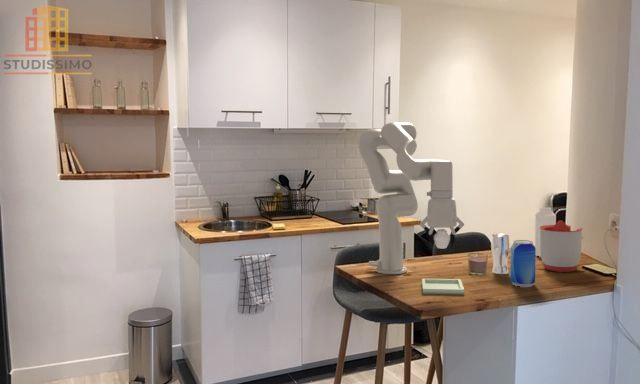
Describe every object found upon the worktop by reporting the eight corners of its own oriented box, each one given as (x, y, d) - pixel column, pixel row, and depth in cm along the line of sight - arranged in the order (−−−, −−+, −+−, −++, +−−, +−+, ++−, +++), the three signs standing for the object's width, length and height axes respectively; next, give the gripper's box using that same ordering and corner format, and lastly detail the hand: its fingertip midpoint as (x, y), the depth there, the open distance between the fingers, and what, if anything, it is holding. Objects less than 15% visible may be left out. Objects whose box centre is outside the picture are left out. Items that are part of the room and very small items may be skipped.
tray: (422, 293, 187) (422, 288, 187) (422, 283, 201) (422, 278, 201) (464, 294, 185) (464, 289, 185) (460, 283, 199) (460, 279, 198)
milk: (555, 257, 237) (556, 208, 235) (543, 258, 235) (544, 208, 233) (546, 254, 243) (546, 206, 240) (534, 255, 241) (535, 207, 239)
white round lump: (450, 249, 188) (450, 230, 187) (432, 249, 189) (432, 229, 189) (451, 246, 194) (450, 227, 193) (433, 245, 195) (433, 226, 195)
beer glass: (510, 274, 209) (510, 237, 208) (492, 274, 211) (492, 236, 209) (508, 270, 216) (508, 233, 215) (490, 270, 217) (490, 233, 216)
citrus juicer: (594, 271, 211) (595, 221, 209) (557, 275, 206) (558, 224, 204) (565, 263, 226) (566, 216, 224) (530, 266, 221) (531, 218, 219)
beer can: (529, 281, 199) (529, 239, 198) (539, 287, 191) (539, 243, 189) (506, 282, 199) (507, 239, 197) (515, 288, 191) (516, 244, 189)
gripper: (416, 196, 187) (417, 247, 189) (467, 196, 185) (467, 247, 186) (416, 194, 195) (417, 243, 196) (465, 193, 192) (465, 243, 194)
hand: (441, 244), depth 191 cm, fingers closed on white round lump, 6 cm apart
